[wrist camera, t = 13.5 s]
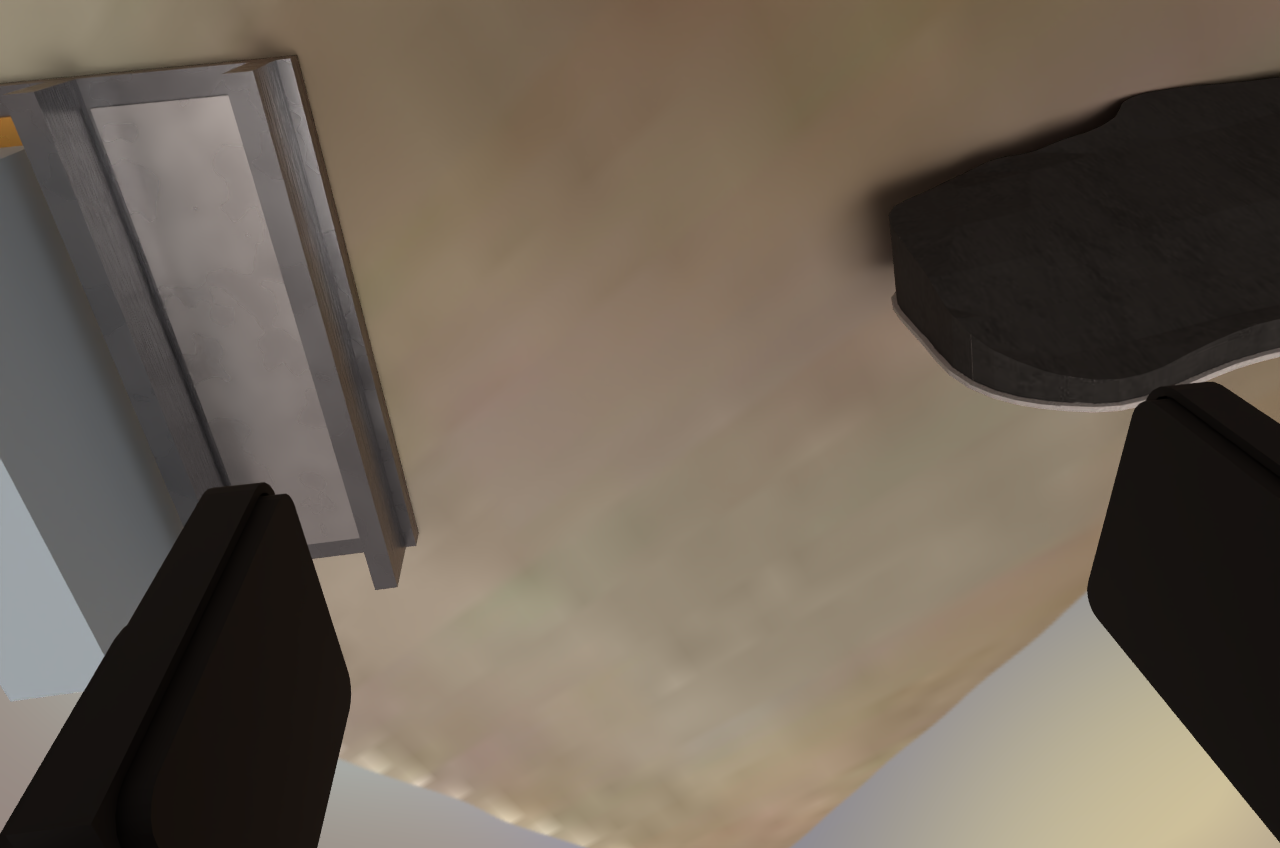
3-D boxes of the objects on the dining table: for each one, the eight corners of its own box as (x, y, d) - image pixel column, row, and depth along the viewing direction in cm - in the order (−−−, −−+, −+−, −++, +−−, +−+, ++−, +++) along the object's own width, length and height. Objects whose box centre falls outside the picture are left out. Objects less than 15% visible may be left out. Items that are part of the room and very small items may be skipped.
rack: (-155, 98, 31) (-242, 118, 28) (296, 55, 32) (268, 69, 28) (87, 575, 42) (46, 632, 38) (418, 533, 43) (408, 585, 39)
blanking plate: (-79, 155, 31) (-284, 228, 23) (36, 144, 31) (-129, 212, 23) (112, 552, 40) (10, 701, 32) (200, 541, 40) (120, 686, 32)
